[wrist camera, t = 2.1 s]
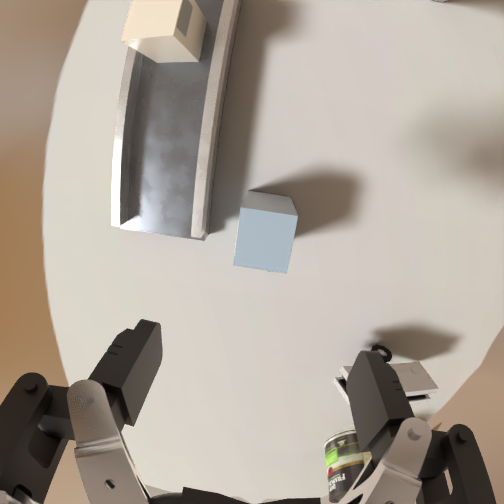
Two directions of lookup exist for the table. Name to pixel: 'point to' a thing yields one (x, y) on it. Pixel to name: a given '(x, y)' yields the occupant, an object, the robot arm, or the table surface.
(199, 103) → the tray
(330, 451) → the coffee can
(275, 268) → the block
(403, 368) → the grey wheeled device
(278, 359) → the table surface
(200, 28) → the block
